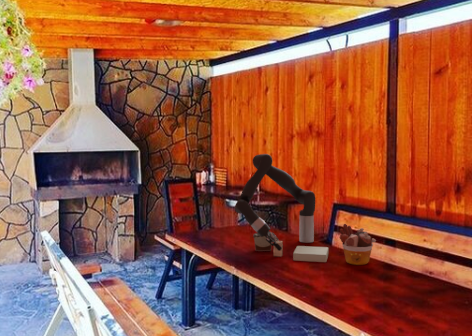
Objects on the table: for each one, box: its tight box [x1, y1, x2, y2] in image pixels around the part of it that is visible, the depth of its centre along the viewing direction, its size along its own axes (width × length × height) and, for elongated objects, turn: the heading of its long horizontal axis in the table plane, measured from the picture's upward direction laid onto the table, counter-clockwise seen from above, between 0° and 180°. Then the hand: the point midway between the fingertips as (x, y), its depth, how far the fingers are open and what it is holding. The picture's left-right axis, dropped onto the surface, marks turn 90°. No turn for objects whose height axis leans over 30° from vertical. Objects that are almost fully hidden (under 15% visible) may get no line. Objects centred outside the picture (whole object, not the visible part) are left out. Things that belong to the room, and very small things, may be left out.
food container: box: [252, 232, 273, 252], centre depth 291 cm, size 12×6×10 cm, turn 84°
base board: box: [292, 245, 329, 263], centre depth 272 cm, size 18×18×4 cm
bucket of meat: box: [339, 223, 377, 266], centre depth 259 cm, size 20×16×20 cm
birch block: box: [273, 240, 284, 258], centre depth 276 cm, size 4×4×8 cm
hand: (281, 248), depth 276 cm, fingers closed on birch block, 4 cm apart
